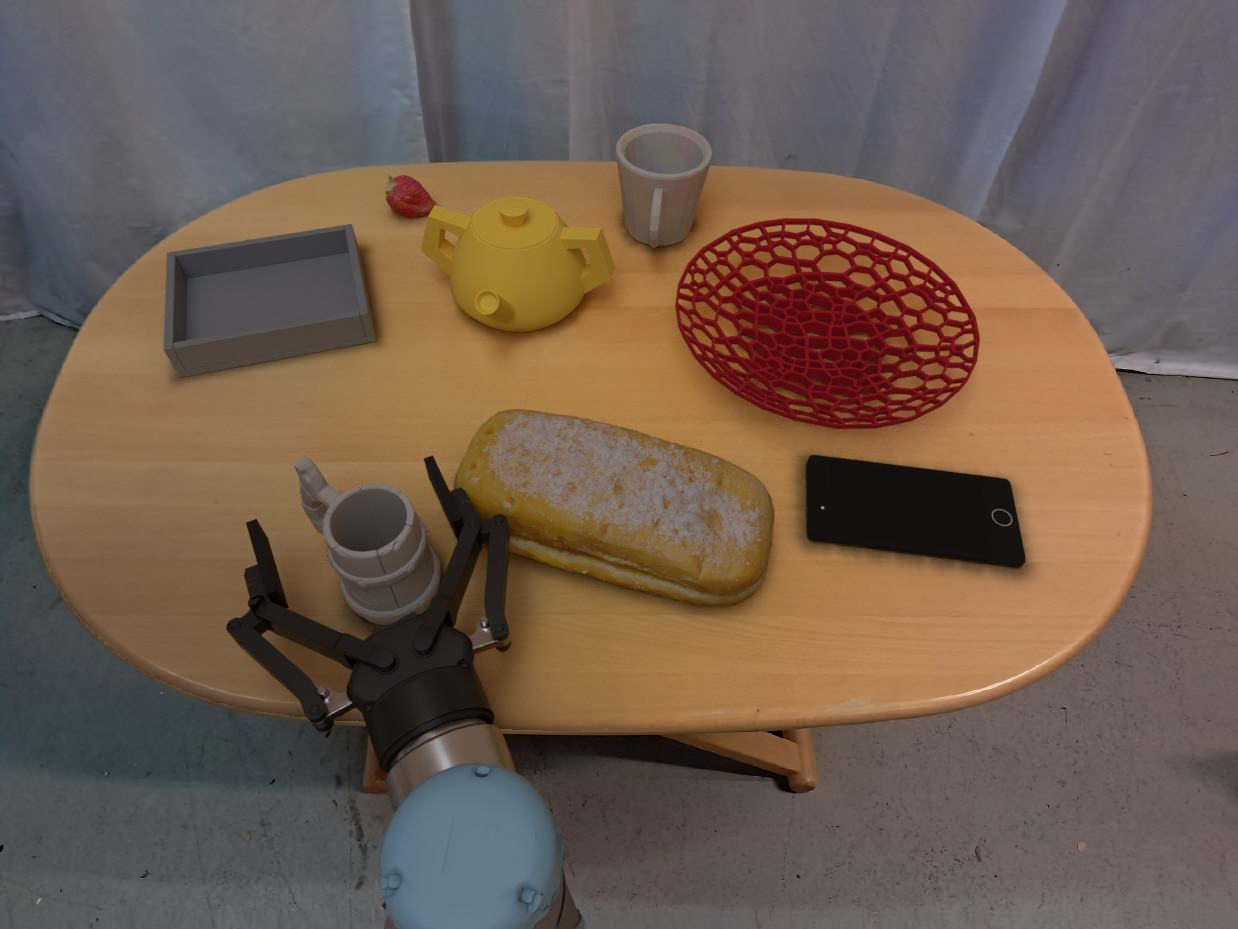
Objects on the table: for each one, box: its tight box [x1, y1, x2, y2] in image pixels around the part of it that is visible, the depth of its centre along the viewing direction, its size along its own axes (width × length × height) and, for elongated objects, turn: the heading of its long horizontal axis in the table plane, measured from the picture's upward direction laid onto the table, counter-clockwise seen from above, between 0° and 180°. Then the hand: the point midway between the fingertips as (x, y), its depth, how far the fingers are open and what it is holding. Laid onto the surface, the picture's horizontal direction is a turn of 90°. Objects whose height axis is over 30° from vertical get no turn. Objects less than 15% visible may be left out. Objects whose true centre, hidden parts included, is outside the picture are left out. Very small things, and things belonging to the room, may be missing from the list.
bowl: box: [674, 217, 981, 430], centre depth 80 cm, size 29×30×5 cm
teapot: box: [420, 196, 616, 333], centre depth 80 cm, size 20×18×11 cm
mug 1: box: [293, 454, 442, 626], centre depth 60 cm, size 8×12×12 cm, turn 55°
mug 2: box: [615, 122, 714, 249], centre depth 88 cm, size 10×15×10 cm
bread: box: [453, 408, 776, 608], centre depth 65 cm, size 13×26×8 cm, turn 76°
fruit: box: [384, 173, 438, 218], centre depth 92 cm, size 4×6×5 cm
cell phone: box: [805, 454, 1026, 569], centre depth 70 cm, size 9×18×1 cm, turn 82°
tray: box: [163, 223, 377, 378], centre depth 81 cm, size 19×15×4 cm
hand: (346, 497), depth 61 cm, fingers open, 13 cm apart
